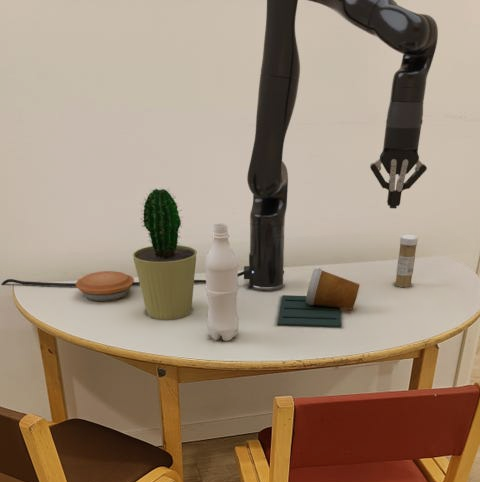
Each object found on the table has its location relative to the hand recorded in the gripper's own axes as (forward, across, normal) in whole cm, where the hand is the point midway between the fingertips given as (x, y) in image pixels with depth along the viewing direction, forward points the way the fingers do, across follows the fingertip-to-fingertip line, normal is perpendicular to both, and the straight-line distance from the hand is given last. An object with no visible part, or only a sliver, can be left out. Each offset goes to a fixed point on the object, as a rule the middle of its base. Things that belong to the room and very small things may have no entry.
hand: (392, 207), depth 139 cm
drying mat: (+25, +18, +4) cm, 31 cm away
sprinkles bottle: (+25, -8, -19) cm, 32 cm away
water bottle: (+25, +37, +22) cm, 50 cm away
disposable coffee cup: (+21, +6, +2) cm, 22 cm away
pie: (+26, +73, -3) cm, 78 cm away
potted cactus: (+26, +53, +8) cm, 59 cm away
